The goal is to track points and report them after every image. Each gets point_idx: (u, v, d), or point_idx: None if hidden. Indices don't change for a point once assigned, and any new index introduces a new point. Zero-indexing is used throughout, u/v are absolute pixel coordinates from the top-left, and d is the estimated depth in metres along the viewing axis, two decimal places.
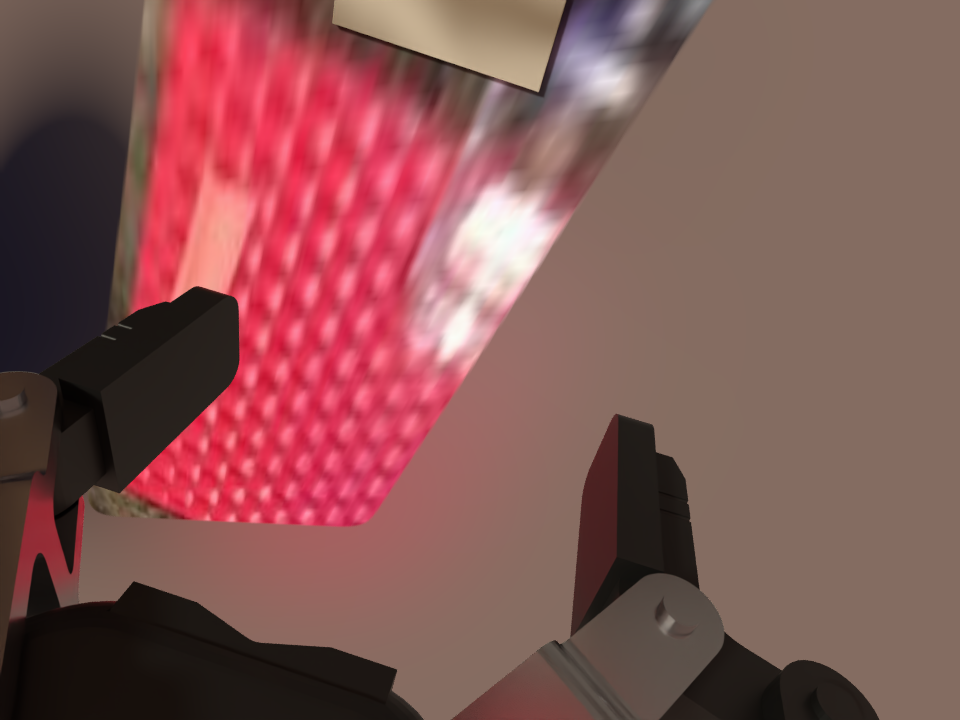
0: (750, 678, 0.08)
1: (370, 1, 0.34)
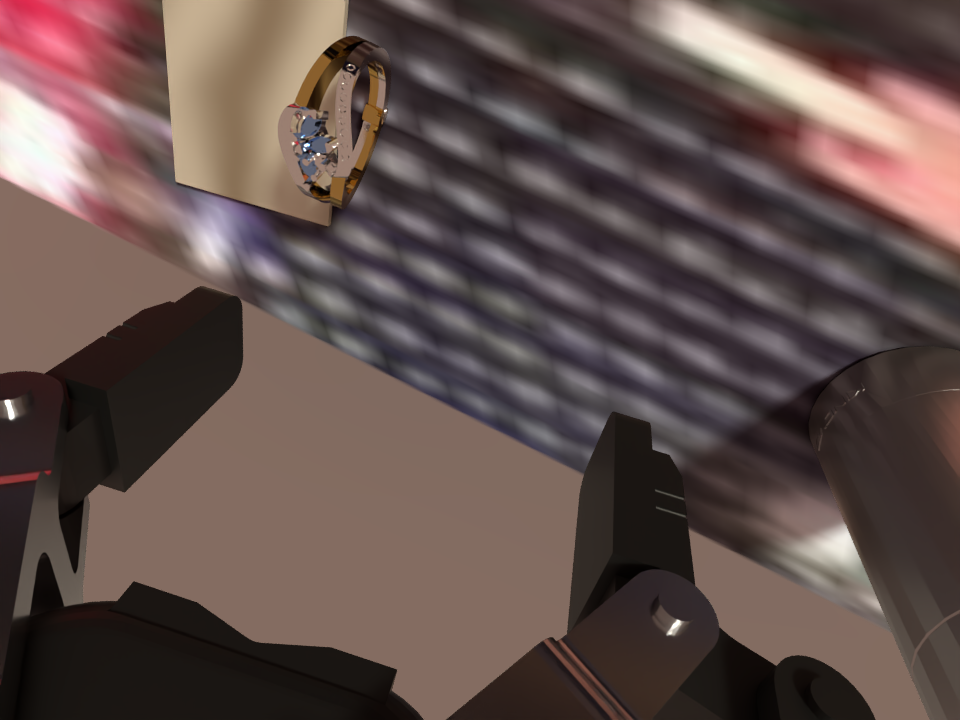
0: (745, 673, 0.08)
1: None
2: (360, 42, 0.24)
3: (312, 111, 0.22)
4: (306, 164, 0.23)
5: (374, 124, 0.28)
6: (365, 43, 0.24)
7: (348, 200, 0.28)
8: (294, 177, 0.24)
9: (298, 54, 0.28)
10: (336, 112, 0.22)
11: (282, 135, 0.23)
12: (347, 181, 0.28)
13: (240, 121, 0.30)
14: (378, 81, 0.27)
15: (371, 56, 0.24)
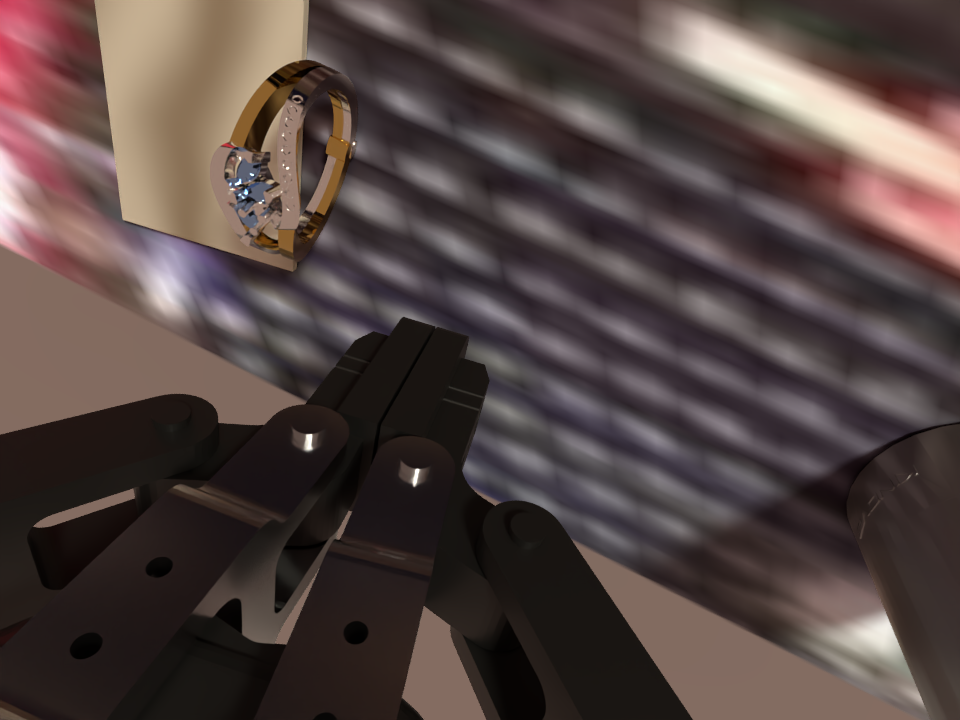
0: (479, 519, 0.09)
1: None
2: (313, 67, 0.20)
3: (247, 153, 0.18)
4: (243, 216, 0.19)
5: (340, 159, 0.24)
6: (319, 69, 0.20)
7: (307, 249, 0.24)
8: (235, 228, 0.20)
9: (251, 78, 0.24)
10: (278, 153, 0.18)
11: (215, 180, 0.19)
12: (307, 226, 0.24)
13: (191, 153, 0.26)
14: (342, 111, 0.23)
15: (326, 84, 0.20)
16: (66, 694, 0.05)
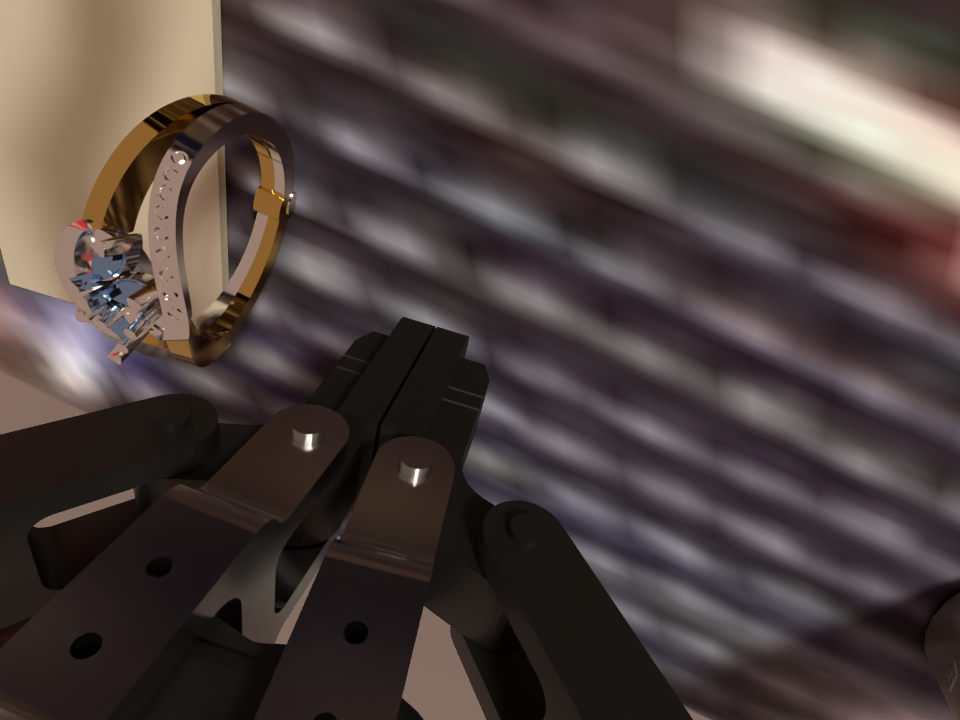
0: (479, 519, 0.09)
1: None
2: (213, 106, 0.14)
3: (96, 244, 0.12)
4: (103, 328, 0.13)
5: (273, 218, 0.18)
6: (220, 107, 0.14)
7: (227, 341, 0.18)
8: (108, 332, 0.14)
9: (152, 111, 0.18)
10: (150, 239, 0.12)
11: (64, 274, 0.13)
12: (228, 308, 0.18)
13: (84, 205, 0.20)
14: (269, 157, 0.17)
15: (231, 130, 0.14)
16: (66, 694, 0.05)
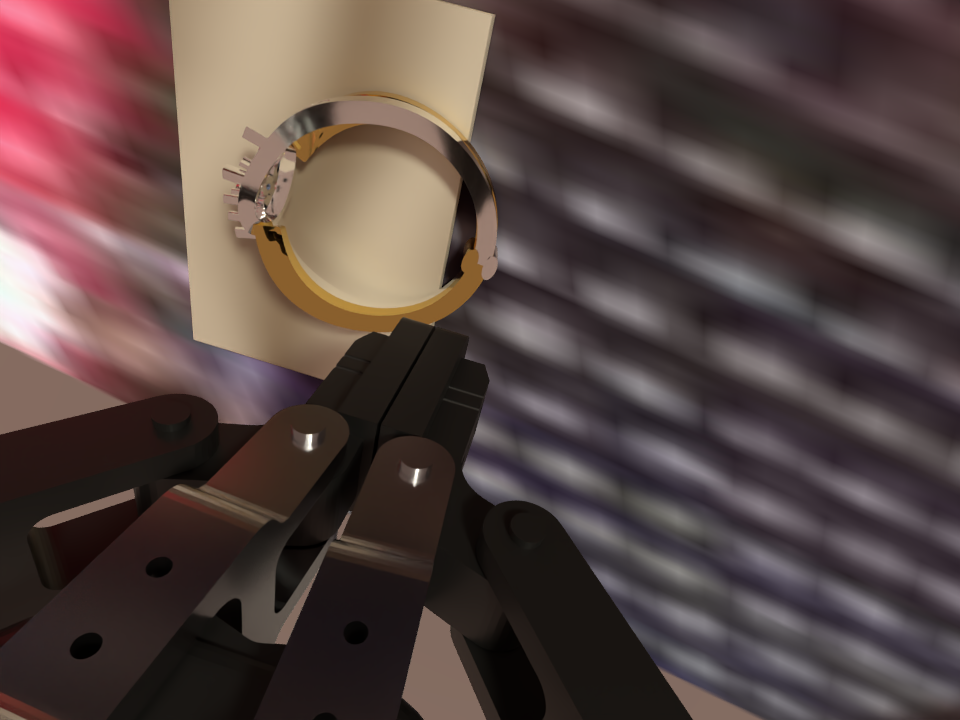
0: (479, 519, 0.09)
1: (227, 36, 0.16)
2: None
3: (246, 128, 0.16)
4: None
5: None
6: (402, 102, 0.15)
7: (345, 321, 0.19)
8: None
9: (389, 179, 0.18)
10: None
11: None
12: (378, 309, 0.19)
13: None
14: None
15: (391, 116, 0.15)
16: (66, 693, 0.05)
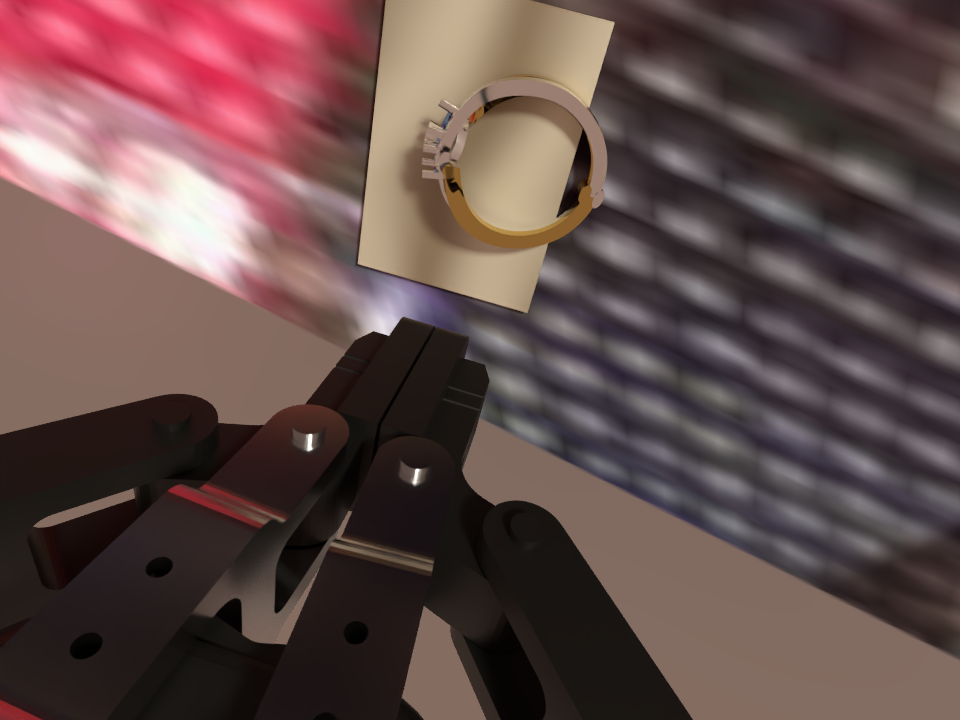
0: (479, 519, 0.09)
1: (423, 36, 0.24)
2: None
3: (441, 99, 0.23)
4: None
5: (578, 198, 0.26)
6: (550, 81, 0.23)
7: (492, 240, 0.26)
8: None
9: (528, 136, 0.25)
10: None
11: None
12: (513, 231, 0.26)
13: (446, 204, 0.27)
14: (591, 151, 0.25)
15: (544, 90, 0.23)
16: (66, 694, 0.05)
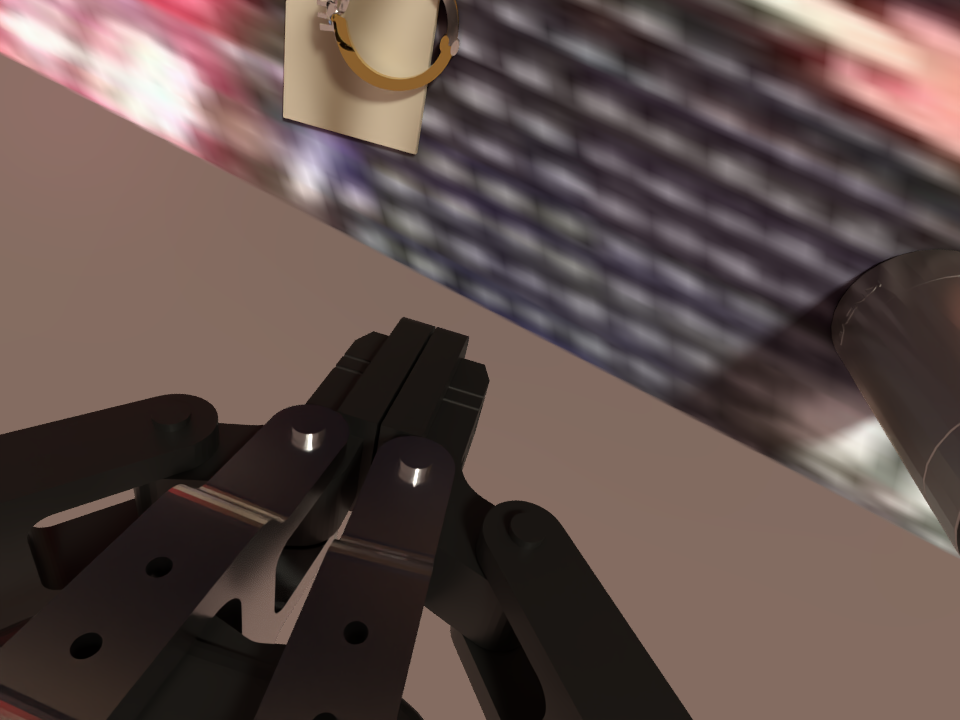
0: (479, 519, 0.09)
1: None
2: None
3: None
4: None
5: None
6: None
7: (377, 82, 0.34)
8: None
9: None
10: None
11: None
12: (394, 77, 0.34)
13: None
14: (446, 8, 0.33)
15: None
16: (66, 693, 0.05)
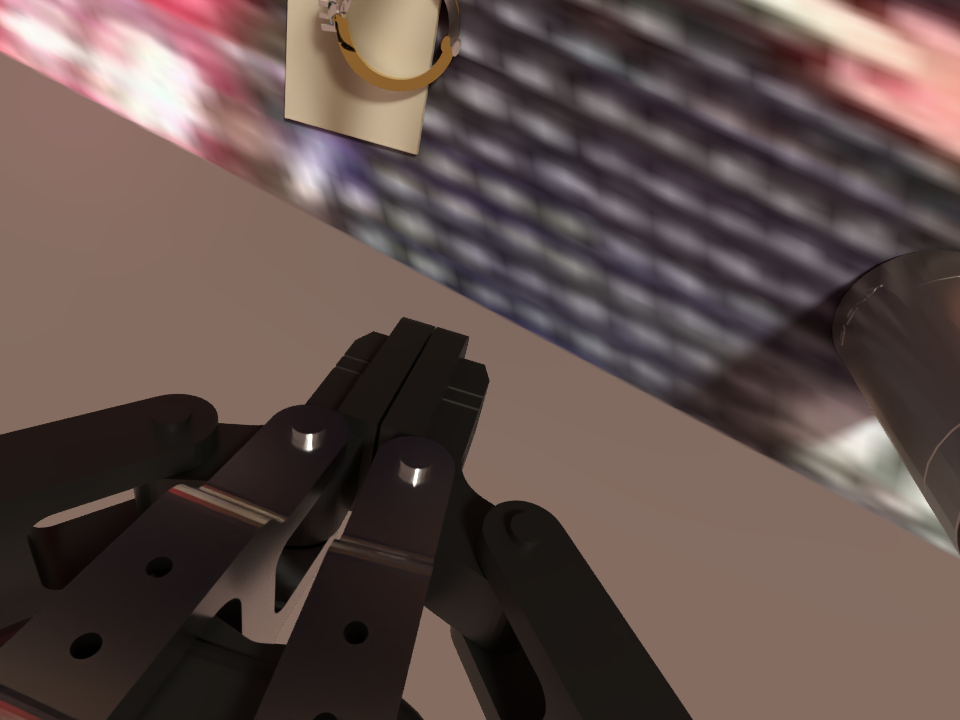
0: (479, 519, 0.09)
1: None
2: None
3: None
4: None
5: None
6: None
7: (378, 82, 0.34)
8: None
9: (402, 0, 0.33)
10: None
11: None
12: (396, 77, 0.34)
13: None
14: (447, 8, 0.33)
15: None
16: (66, 693, 0.05)
